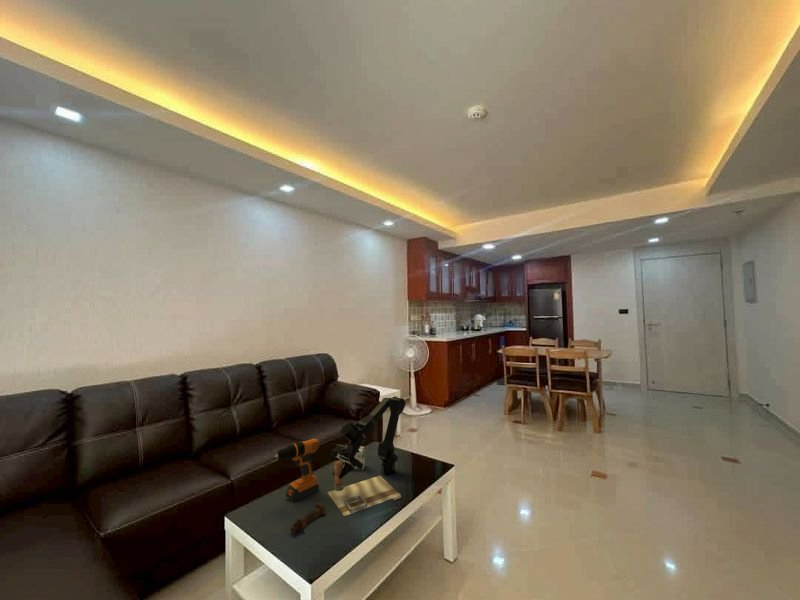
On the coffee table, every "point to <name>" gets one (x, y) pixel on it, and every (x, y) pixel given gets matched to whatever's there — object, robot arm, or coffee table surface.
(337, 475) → the brown piece
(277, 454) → the power drill
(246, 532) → the coffee table surface
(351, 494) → the subfloor panel
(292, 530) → the bolt
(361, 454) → the light bulb box
